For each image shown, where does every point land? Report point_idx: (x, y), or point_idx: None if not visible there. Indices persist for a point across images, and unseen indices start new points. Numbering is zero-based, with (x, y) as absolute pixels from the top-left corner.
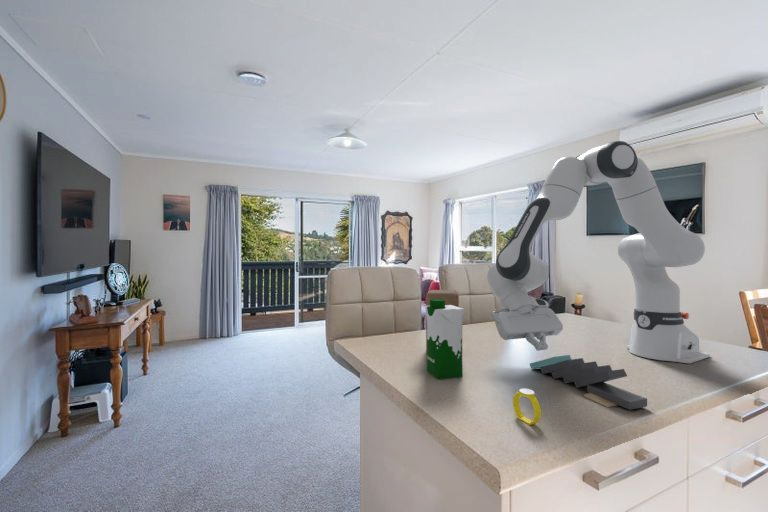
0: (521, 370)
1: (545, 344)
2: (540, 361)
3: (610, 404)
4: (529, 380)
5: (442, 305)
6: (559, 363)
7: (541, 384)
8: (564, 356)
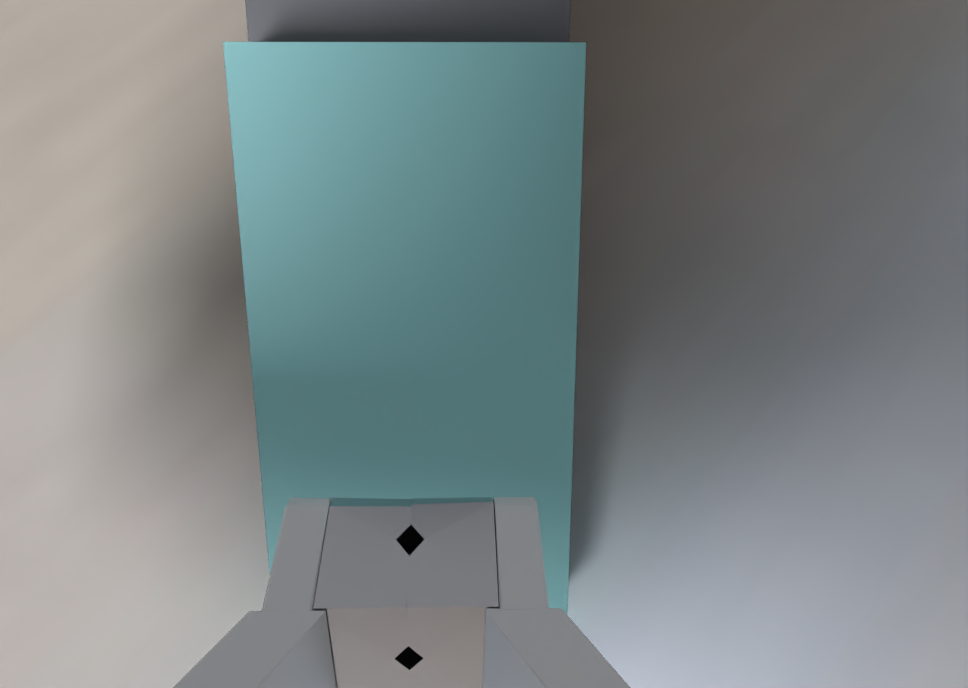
0: (711, 611)
1: (330, 536)
2: (570, 411)
3: None
4: (854, 263)
5: None
6: (566, 2)
7: (805, 119)
8: (364, 45)
